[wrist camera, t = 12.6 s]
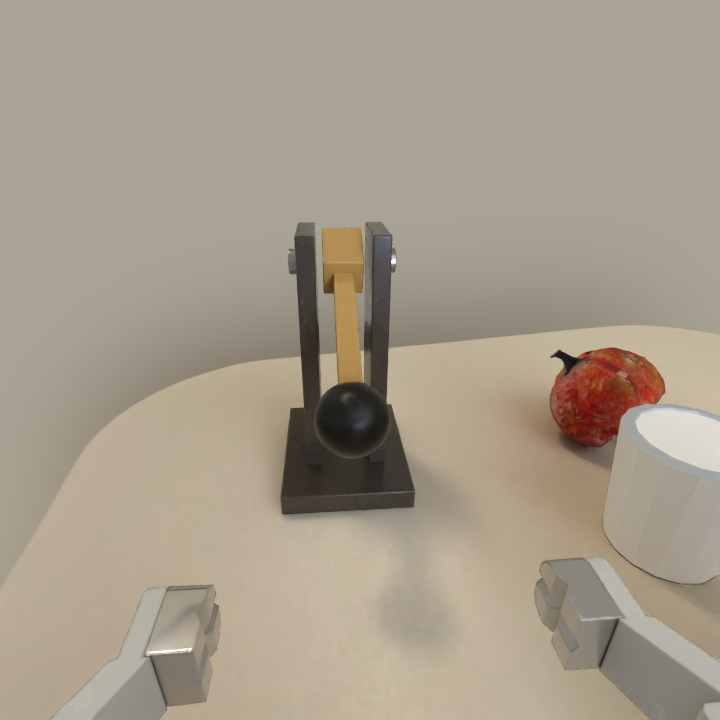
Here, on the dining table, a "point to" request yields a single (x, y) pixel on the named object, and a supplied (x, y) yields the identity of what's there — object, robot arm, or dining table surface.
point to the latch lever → (348, 357)
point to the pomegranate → (601, 392)
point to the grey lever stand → (304, 450)
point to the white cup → (667, 492)
